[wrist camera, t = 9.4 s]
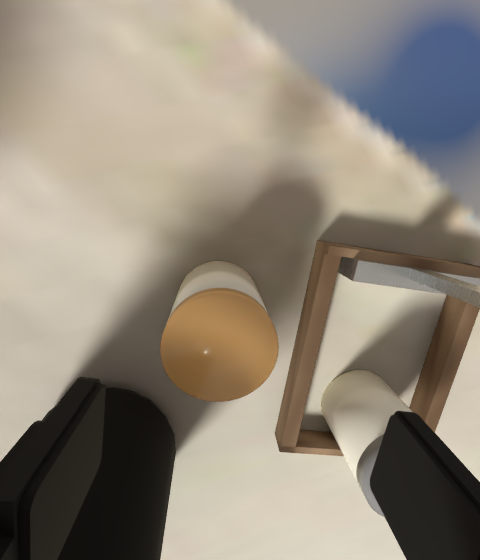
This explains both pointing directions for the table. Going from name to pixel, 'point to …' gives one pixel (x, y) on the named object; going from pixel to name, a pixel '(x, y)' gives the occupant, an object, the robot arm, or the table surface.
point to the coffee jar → (126, 485)
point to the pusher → (412, 278)
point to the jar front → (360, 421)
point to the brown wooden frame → (317, 300)
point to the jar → (218, 334)
